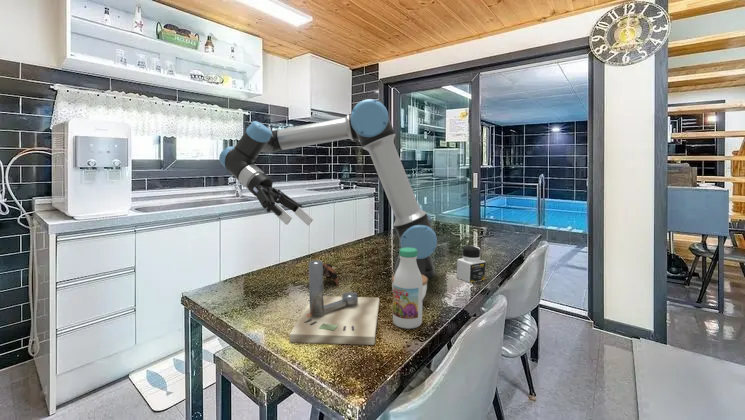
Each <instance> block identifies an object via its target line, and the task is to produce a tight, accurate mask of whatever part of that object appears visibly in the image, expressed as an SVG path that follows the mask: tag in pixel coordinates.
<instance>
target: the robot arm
mask: <svg viewBox="0 0 745 420" xmlns="http://www.w3.org/2000/svg"><path fill="white" fill-rule="evenodd" d="M387 109H388V108H386V106H385V105H384V104H383V103H382V102H381V101H379V100H378V99H377V100H376V99H372V98H368V99H363V100H360V101H359V102H358V103H357V104H356V105H354V107H353V109H352V111H351V113H348V114H347V115H346V116H345V117H342V118H335V119H329V120H324V121H319V122H313V123H307V124H302V125H298V126H297V125H296V126H291V127H286V128H285V127H284V128H281V129H275V130H272V129H270V128H268V127H267V126H266V125H264V124H263V123H261V122H259V121H257V120H254V121H252V122H251V123H250V124H249V125H248V126H247V127H246V130H245V131H244V133H243V134H242V136H241V137H240V139H239V140H238V142H237V143H236V145H235V146H227V147H226V148H225V149H223V150H221V152H220V154H219V158H218V160H219V163H220V164H221V165H222V166H223V167H224V168H225V170H226V171H227V172H229V173H230V174H231V175H232V176H233V177H234V178H235V179H237V181H238V182H240V183H241V184H242V187H243V188H246V189H248V191H249V192H250V193H251V194H252V195H253V196H254V197H256V199H257V200H258V202H259V204H261V207H262V208H263V209H266V210H265V211H266V212H267V213H270V212H272V213H273V214H274V215H275V216H276V217H277V218H278V219H279V220H281V222H283V224H285V225H289V223H290V222H291V220H292V219H293V216H291V214H289V213H288V212H287V211H286V210H285V209H284V208H283V207H285V208H287V209H288V210H291V211H292V212H293V213H294V215H296V216H297V217H298V218H299V219H300V220H301V221H303V223H304V224H305V225H306V226H310V225H311V223H312V222H313V221H314V218H313V217H311V216H310V215H309V213H307V212H306V211H305V210H304V209H302V207H303V205H302V204H300V203H298V201H295V200H294V199H293V198H291V197H289V196H288V195H287V194H285V193H284V192H283V191H282V190H281V189H276V188H275V187H273V179H272V178H271V177H269V176H268V175H267V174H266V173H265V172H264V171H263V170H262V169H261V168H259V166H257V165H256V164H255V163H254V162H255V161H256V159H257V158H258V156H259V155H260V154H261V153H265V154H274V153H277V152H279V151H284V150H290V149H297V148H301V147H308V146H314V145H320V144H326V143H331V142H337V141H343V140H348V139H349V140H350V141H352V142H354V141H355V142H356V141H359V143H360V145H361V148H362V149H363V150H365V151H367V152H368V153H369V156H370V159H371V160H372V163H373V165H374V168H375V170H376V173H377V175H378V178H379V180H380V183H381V185H382V187H383V190H384V192H385V195H386V198H387V200H388V203H389V205H390V207H391V208H390V209H391V210H392V212H393V215H394V217H395V219H394V223H393V227H394V230H395V232H396V235H397V237H398V238H399V248H398V249H399V250H400V249H401V248H406V247H409V248H415V249H417V258H416V262H417V266H418V268H419V271H420V273H421V274H422V275H424V276H426V277H427V279H428V280H429V279H431V278H433V277H434V276H435V271H436V270H435V269H436V268H435V264H434V262H433V259H432V254H433V253H434V252H435V250H436V249H437V245H438V236H437V234H436V232H435V230H434V229H433V227H432V222H433V221H432V216H431V215H430V214H428V213H427V212H426V211H425V210H423V209H421V208H420V206H419V203H418V201H417V199H416V196H415V194H414V191H413V188H412V186H411V183H410V181H409V178H408V176H407V173H406V170H405V168H404V165H403V163H402V160H401V158H400V156H399V153H398V150H397V149H396V148H397V147H396V145H395V143H394V140H395V137H396V132H395V130H394V127H393V125H392V122H391V120H390V117H389V111H388V110H387ZM281 205H282V206H283V207H282V206H281ZM399 256H400V255H399V254H398V257H397V260H396V262H395V266H394V274H395V273H396V270H397V268H398V266H399V263H400V257H399Z"/></svg>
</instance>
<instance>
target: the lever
mask: <svg viewBox="0 0 745 420" xmlns="http://www.w3.org/2000/svg"><path fill="white" fill-rule="evenodd" d="M323 262H324V261H323V260H319V259H315V260H310V261H309V262H308V286H309V287H308V290H309V291H308V292H309V293H308V296H309V302H310V313H309V314H307V317H311V316H313V317H319V316H322V315H323V314H324V313H326V312H329V311H332V310H335V309H338V308H341V307H344V306H354V305H357V304H358V297H359V295H358V293H357V292H354V291H347V292H346V291H345V292H343V293H342V295H341V297H342V300H340V301H337V302H334V303H330V304H327V305H324V298H323V296H324V276H323V264H324V263H323Z"/></svg>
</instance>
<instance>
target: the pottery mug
mask: <svg viewBox="0 0 745 420" xmlns="http://www.w3.org/2000/svg"><path fill="white" fill-rule="evenodd" d="M323 278H326V279H329V280H330V279H332V282H334V283H335V286H336V287H338V286H339V284H340V281H339V280H340V279H339V277H338V274H337V272H336V270H335V269H334V268H333V265H332V264H331V263H323Z"/></svg>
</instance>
